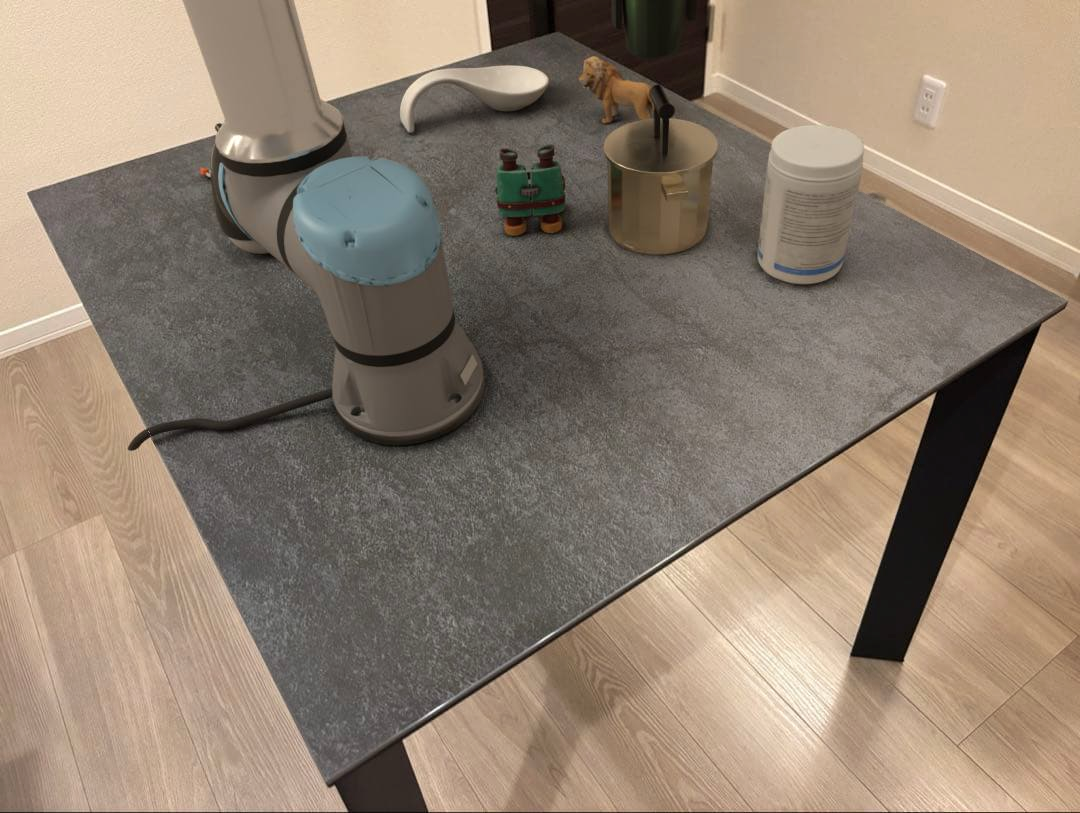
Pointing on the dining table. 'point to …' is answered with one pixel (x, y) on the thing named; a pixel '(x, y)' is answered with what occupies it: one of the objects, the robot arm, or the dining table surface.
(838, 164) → the supplement tub
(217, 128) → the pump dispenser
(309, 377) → the dining table surface
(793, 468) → the dining table surface
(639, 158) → the pot lid
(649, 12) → the potion bottle
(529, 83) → the spoon rest
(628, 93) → the lion figurine
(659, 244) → the pot
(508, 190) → the toy field glasses
